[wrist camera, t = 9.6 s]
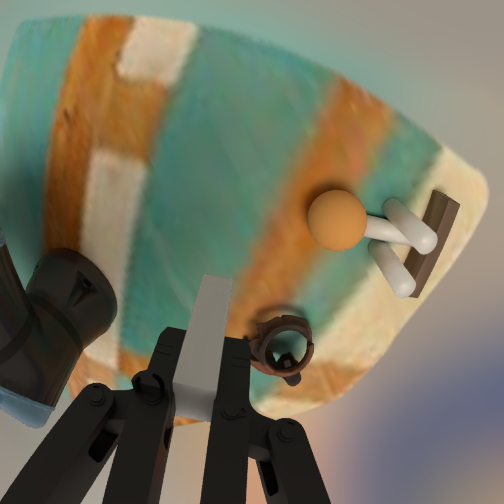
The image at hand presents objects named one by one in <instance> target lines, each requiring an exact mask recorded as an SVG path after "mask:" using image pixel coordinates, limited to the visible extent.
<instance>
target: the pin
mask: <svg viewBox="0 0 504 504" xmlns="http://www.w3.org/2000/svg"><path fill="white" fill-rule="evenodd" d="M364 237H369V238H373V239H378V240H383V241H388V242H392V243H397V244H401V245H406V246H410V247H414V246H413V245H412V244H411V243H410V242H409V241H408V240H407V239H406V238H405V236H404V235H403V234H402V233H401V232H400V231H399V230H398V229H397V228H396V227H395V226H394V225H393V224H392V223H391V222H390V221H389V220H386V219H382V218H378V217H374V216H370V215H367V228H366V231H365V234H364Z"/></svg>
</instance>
